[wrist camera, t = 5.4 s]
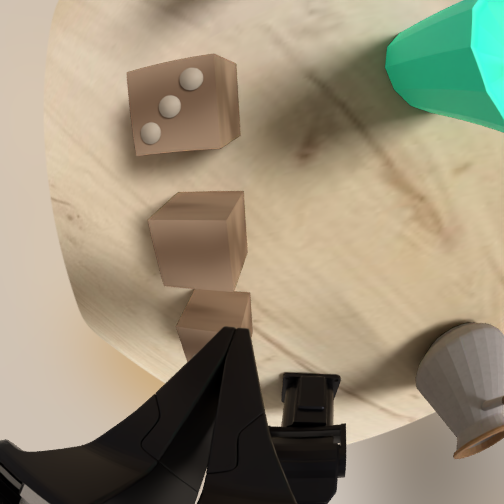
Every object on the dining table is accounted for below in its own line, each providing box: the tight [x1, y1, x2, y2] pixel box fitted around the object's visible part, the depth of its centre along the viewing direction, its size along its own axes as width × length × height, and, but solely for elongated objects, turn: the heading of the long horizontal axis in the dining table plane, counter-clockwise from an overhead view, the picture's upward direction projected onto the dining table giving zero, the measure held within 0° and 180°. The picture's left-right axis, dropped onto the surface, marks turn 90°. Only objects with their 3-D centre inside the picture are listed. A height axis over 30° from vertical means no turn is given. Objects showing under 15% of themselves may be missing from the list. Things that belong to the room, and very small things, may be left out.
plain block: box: [148, 191, 248, 292], centre depth 19 cm, size 5×5×5 cm
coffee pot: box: [416, 323, 504, 459], centre depth 16 cm, size 21×12×15 cm, turn 21°
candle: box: [385, 0, 504, 132], centre depth 8 cm, size 6×6×12 cm
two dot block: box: [176, 289, 253, 362], centre depth 24 cm, size 5×5×5 cm
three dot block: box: [127, 54, 241, 156], centre depth 15 cm, size 5×5×5 cm
